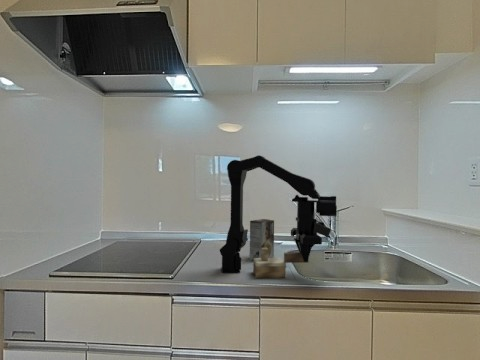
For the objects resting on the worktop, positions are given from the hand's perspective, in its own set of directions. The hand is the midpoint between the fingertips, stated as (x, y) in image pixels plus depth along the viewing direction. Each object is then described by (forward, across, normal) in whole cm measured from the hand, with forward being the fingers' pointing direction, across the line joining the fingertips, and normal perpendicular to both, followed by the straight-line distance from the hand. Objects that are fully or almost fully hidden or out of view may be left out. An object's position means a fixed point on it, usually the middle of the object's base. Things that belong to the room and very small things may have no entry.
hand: (304, 260), depth 126 cm
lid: (+2, +3, +12) cm, 12 cm away
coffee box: (+6, +28, +11) cm, 31 cm away
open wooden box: (+6, +3, +12) cm, 13 cm away
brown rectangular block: (0, 0, +3) cm, 3 cm away
